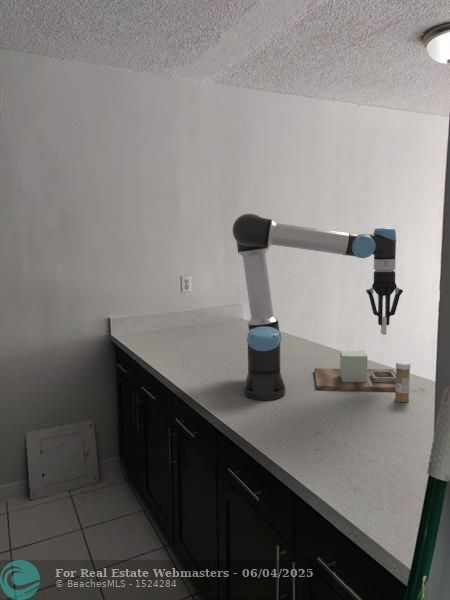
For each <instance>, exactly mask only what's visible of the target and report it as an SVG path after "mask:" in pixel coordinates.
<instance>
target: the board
mask: <svg viewBox="0 0 450 600" xmlns="http://www.w3.org/2000/svg"><path fill="white" fill-rule="evenodd" d="M313 370H314V377H315V378H314V379H315V385H316V390H317V391H352V392H353V391H355V392H356V391H358V392H359V391H360V392H364V391H365V392H396V390H395V389H396V383H374V382H373V380H372V378H371V377H370V371H392V372H393V373H394V374H395V376H396V372H395V371H394V369H386V368H385V369H382V368H381V369H380V368H379V369H378V368H377V369H376V368H367V382H342V380H341V376H340V368H324V367H323V368H320V367H319V368H318V367H317V368H313Z"/></svg>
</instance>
